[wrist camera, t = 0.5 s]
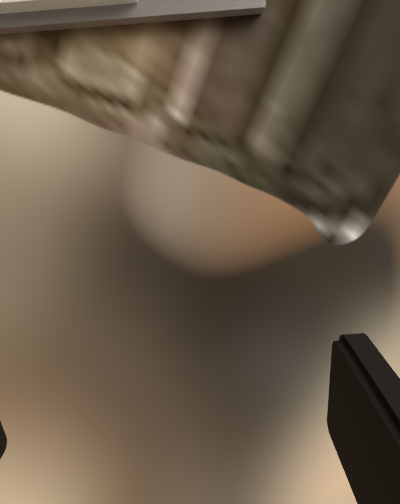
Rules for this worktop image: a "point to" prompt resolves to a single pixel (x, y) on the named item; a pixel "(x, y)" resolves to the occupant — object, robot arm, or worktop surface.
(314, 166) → the worktop surface
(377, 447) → the robot arm
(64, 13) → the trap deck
